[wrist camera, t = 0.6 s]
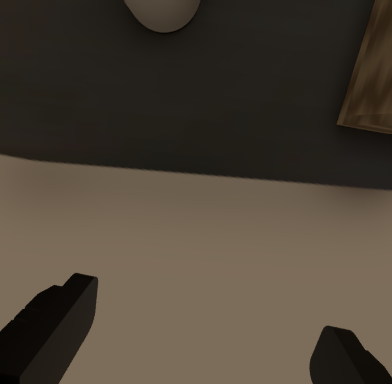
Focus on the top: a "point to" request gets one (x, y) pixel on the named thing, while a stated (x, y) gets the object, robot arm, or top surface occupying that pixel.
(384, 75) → the crate
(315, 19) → the top surface
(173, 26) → the alcohol
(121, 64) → the top surface
